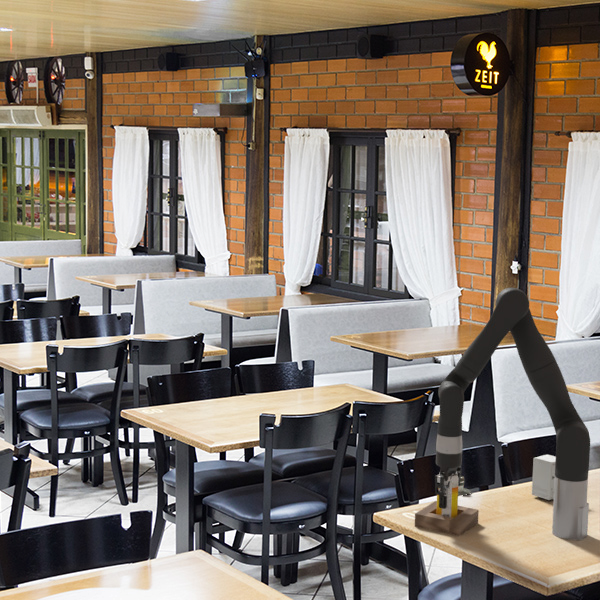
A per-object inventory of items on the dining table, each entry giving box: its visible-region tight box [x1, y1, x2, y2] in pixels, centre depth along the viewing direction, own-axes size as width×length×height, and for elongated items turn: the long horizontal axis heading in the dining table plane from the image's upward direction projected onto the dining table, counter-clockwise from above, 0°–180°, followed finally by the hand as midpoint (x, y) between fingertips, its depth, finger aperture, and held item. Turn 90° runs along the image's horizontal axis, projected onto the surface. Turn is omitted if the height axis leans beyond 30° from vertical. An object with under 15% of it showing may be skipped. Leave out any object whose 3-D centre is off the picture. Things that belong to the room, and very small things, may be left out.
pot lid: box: [458, 475, 472, 496], centre depth 320 cm, size 12×12×5 cm
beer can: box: [436, 472, 459, 518], centre depth 284 cm, size 6×6×15 cm
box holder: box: [414, 500, 480, 537], centre depth 285 cm, size 14×14×4 cm
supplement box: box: [531, 454, 556, 501], centre depth 315 cm, size 7×7×13 cm
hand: (447, 504), depth 285 cm, fingers closed on beer can, 6 cm apart
